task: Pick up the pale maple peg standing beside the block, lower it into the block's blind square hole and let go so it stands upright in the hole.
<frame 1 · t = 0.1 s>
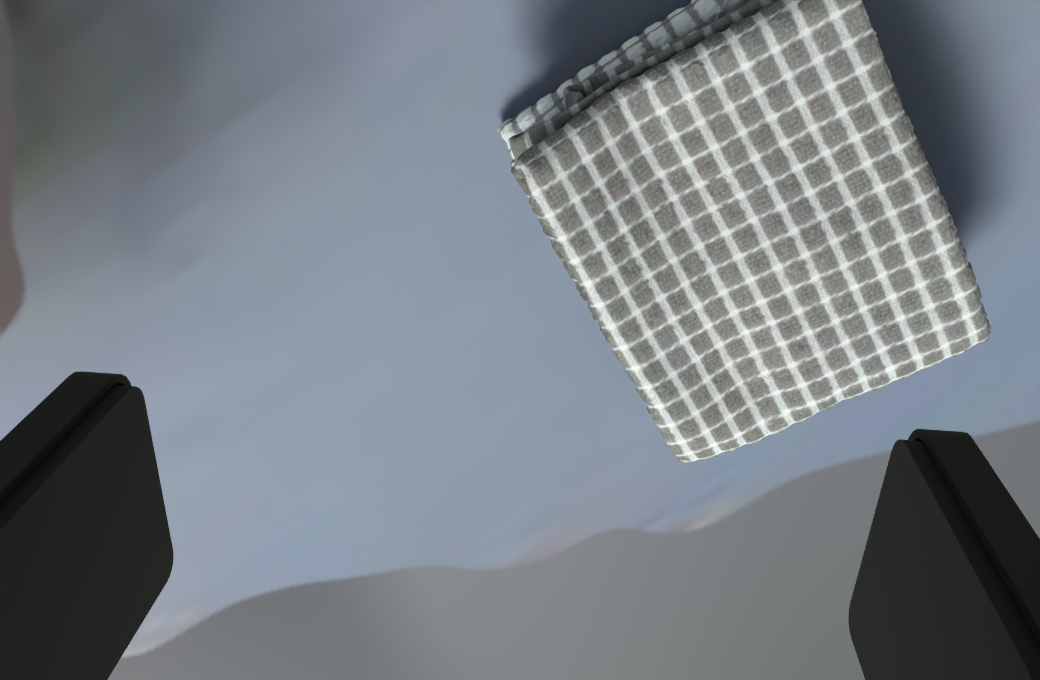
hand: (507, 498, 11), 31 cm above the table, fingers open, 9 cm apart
towel: (730, 198, 42), on the table
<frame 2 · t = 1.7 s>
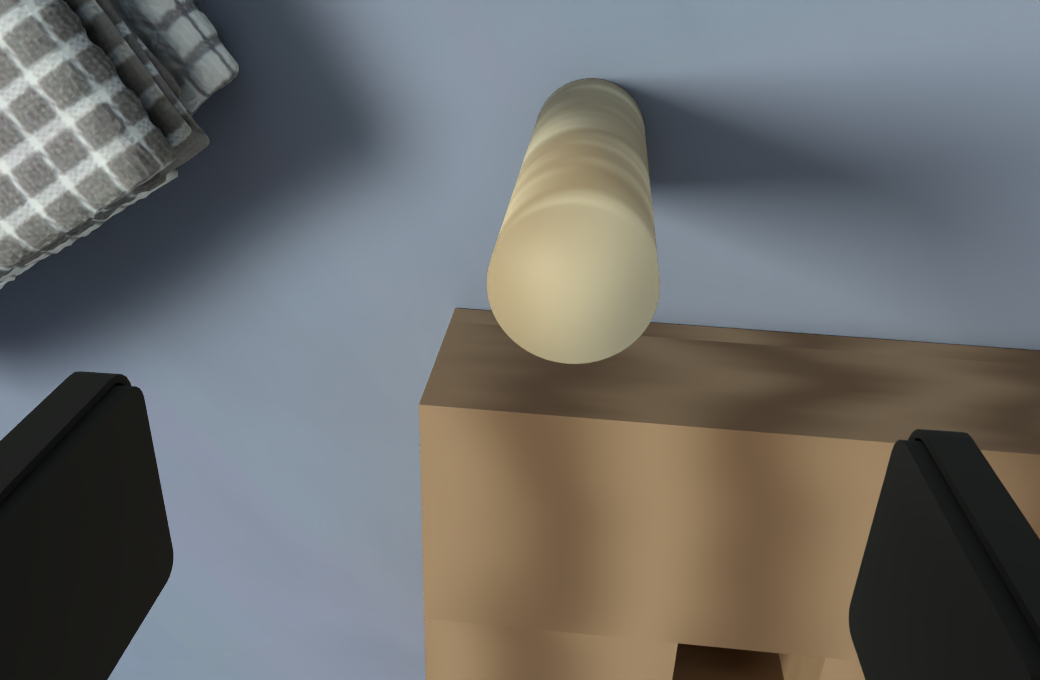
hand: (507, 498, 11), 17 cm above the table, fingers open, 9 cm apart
bore block: (721, 569, 33), on the table
peg: (589, 133, 26), on the table
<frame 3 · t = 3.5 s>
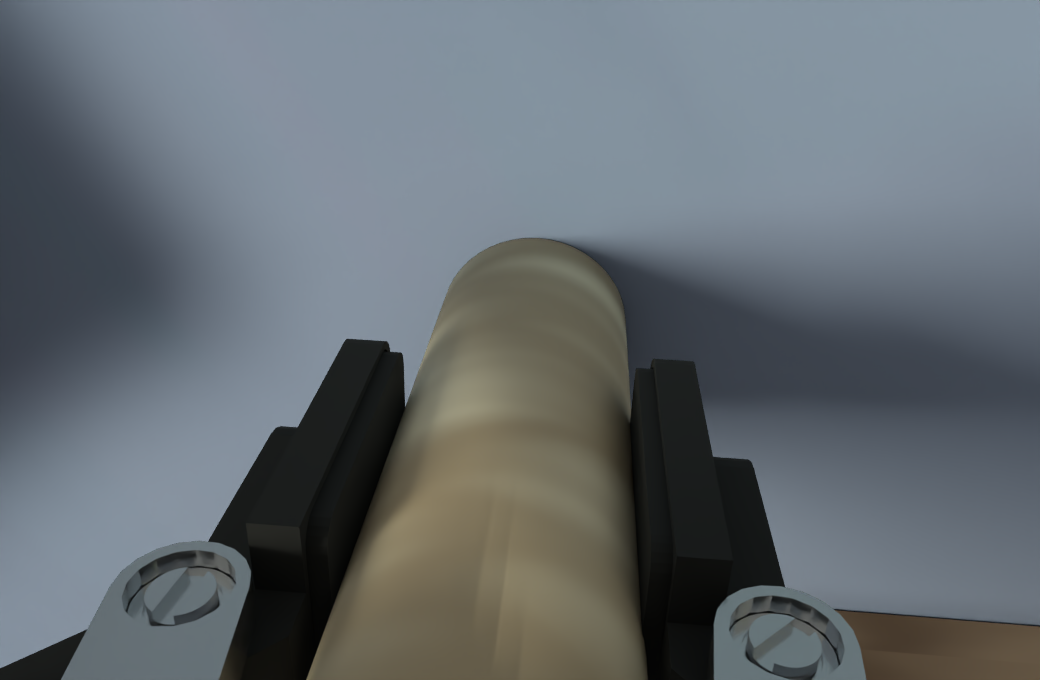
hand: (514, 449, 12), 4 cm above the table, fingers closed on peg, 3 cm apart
peg: (533, 324, 16), on the table, touching gripper
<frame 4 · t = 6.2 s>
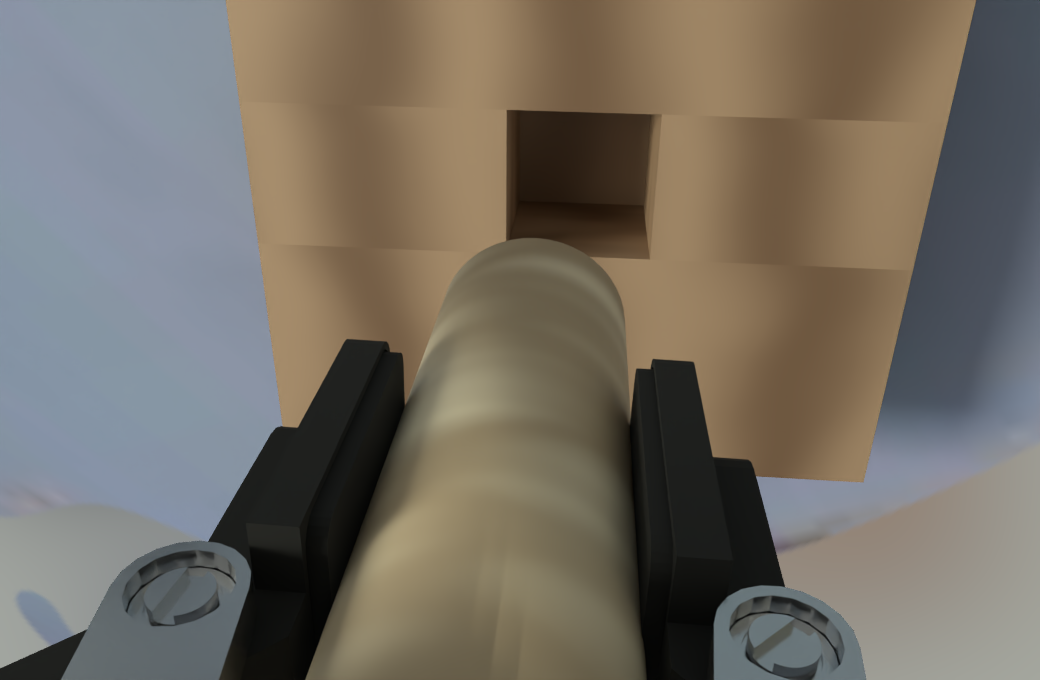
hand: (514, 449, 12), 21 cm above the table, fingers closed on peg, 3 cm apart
bore block: (584, 134, 32), on the table
peg: (532, 324, 16), point 18 cm above the table, touching gripper
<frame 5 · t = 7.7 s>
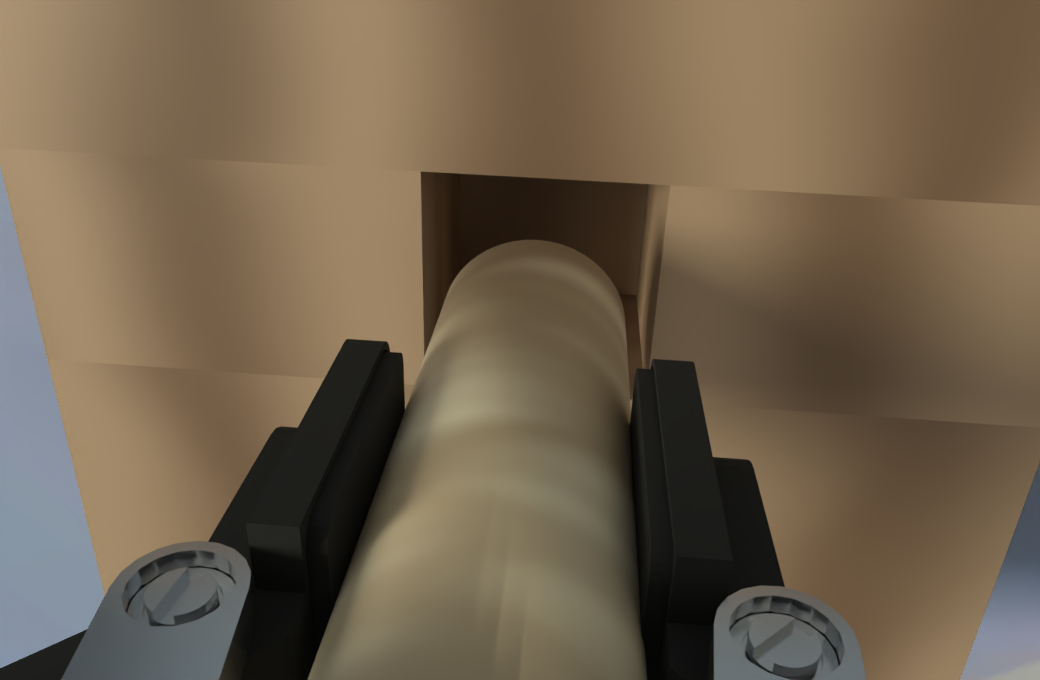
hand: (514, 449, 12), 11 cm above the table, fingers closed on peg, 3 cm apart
bore block: (553, 191, 22), on the table
peg: (533, 325, 16), point 7 cm above the table, touching gripper
when the fingers open (7 cm above the table, at t = 8.9 s): peg drops 2 cm, resting on bore block.
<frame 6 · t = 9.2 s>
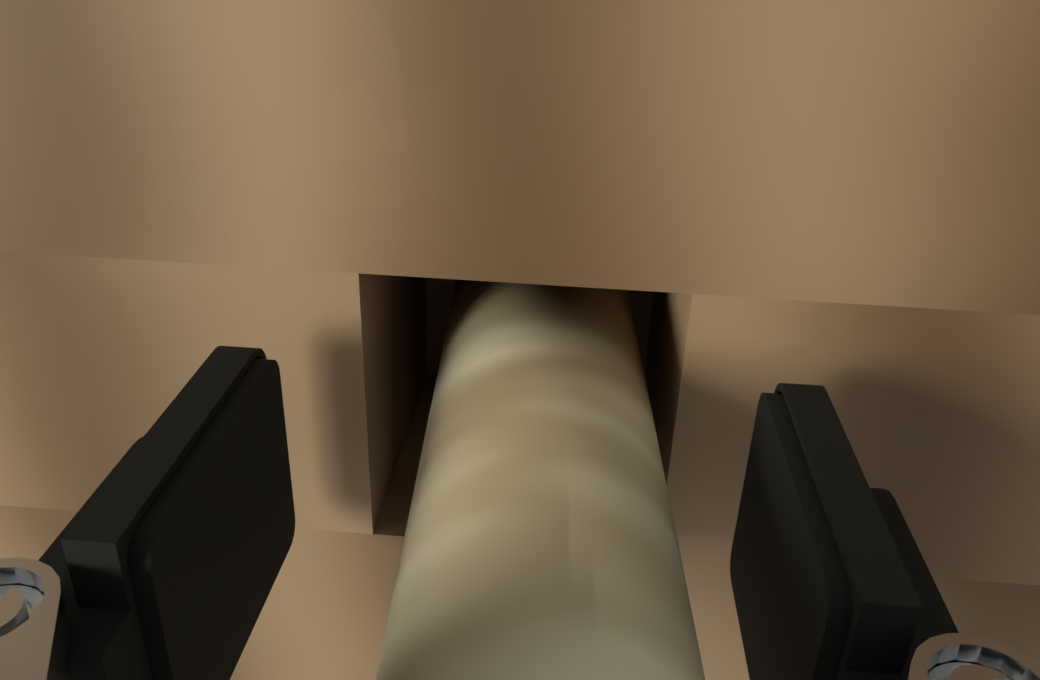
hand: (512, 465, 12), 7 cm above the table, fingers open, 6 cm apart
bore block: (541, 263, 18), on the table
peg: (540, 285, 17), point 1 cm above the table, touching bore block
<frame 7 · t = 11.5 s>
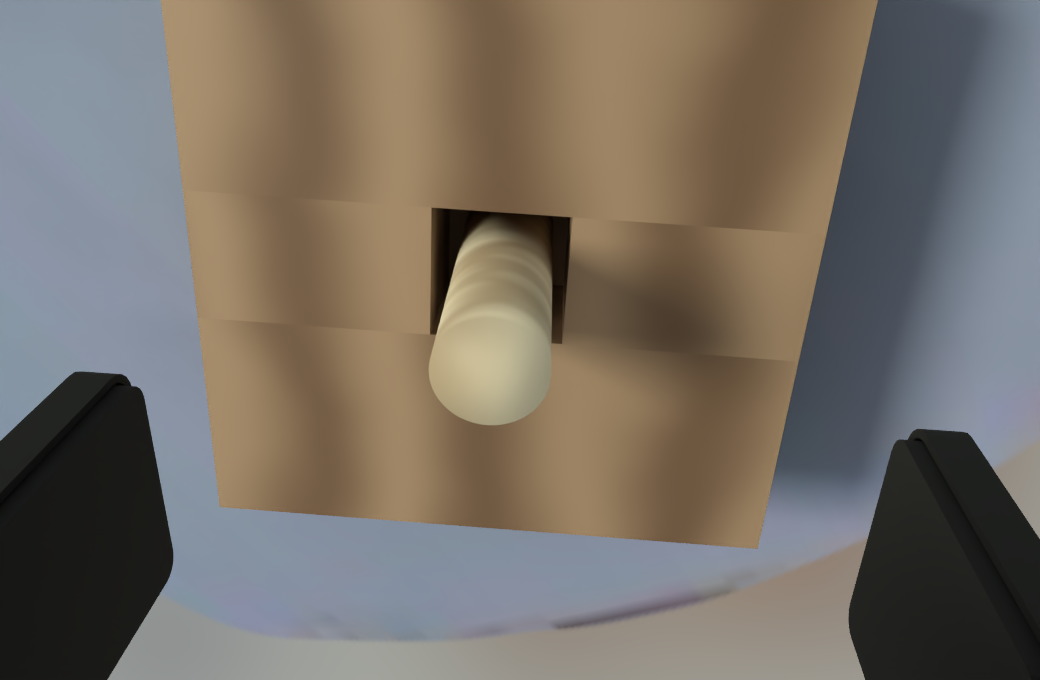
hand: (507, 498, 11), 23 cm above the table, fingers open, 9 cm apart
bore block: (510, 218, 34), on the table
peg: (509, 227, 33), point 1 cm above the table, touching bore block
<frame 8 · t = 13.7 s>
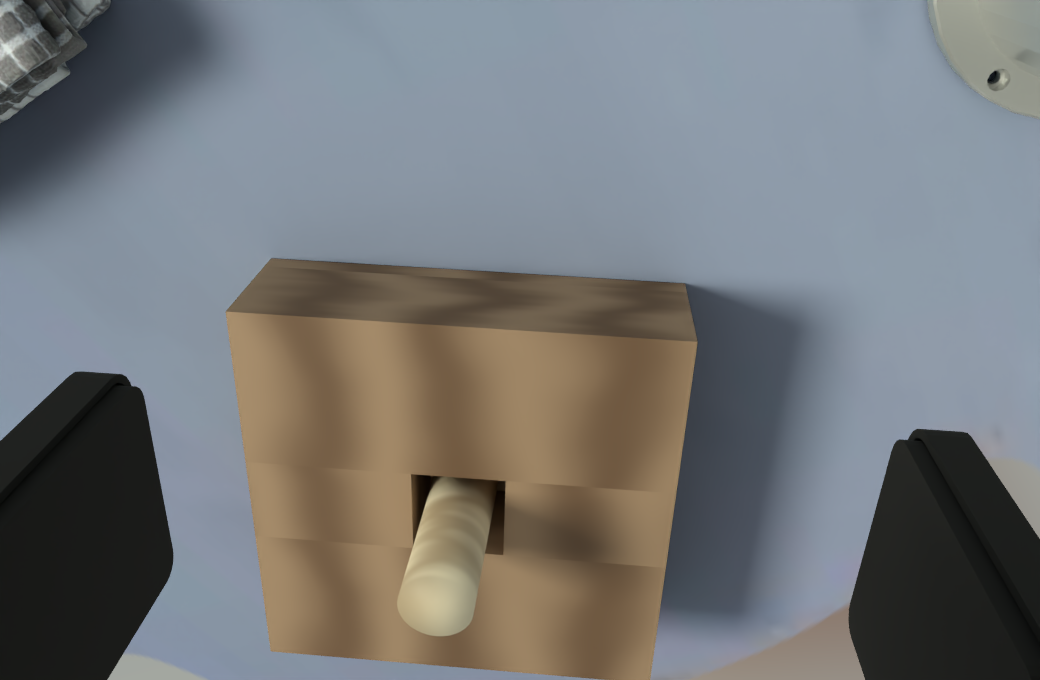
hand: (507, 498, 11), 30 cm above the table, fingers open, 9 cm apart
bore block: (473, 444, 48), on the table
peg: (472, 455, 47), point 1 cm above the table, touching bore block
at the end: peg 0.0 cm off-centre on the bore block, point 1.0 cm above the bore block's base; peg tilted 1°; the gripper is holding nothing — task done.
